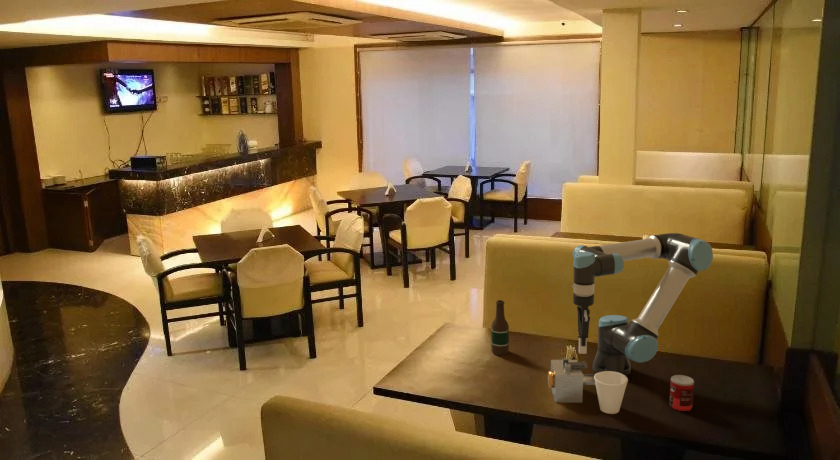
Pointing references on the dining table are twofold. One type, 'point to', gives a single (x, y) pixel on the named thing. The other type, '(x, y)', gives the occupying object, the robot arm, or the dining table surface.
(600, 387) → the cup
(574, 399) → the hitch block
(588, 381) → the pin
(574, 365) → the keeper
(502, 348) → the beer bottle
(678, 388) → the canned food
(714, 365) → the dining table surface
